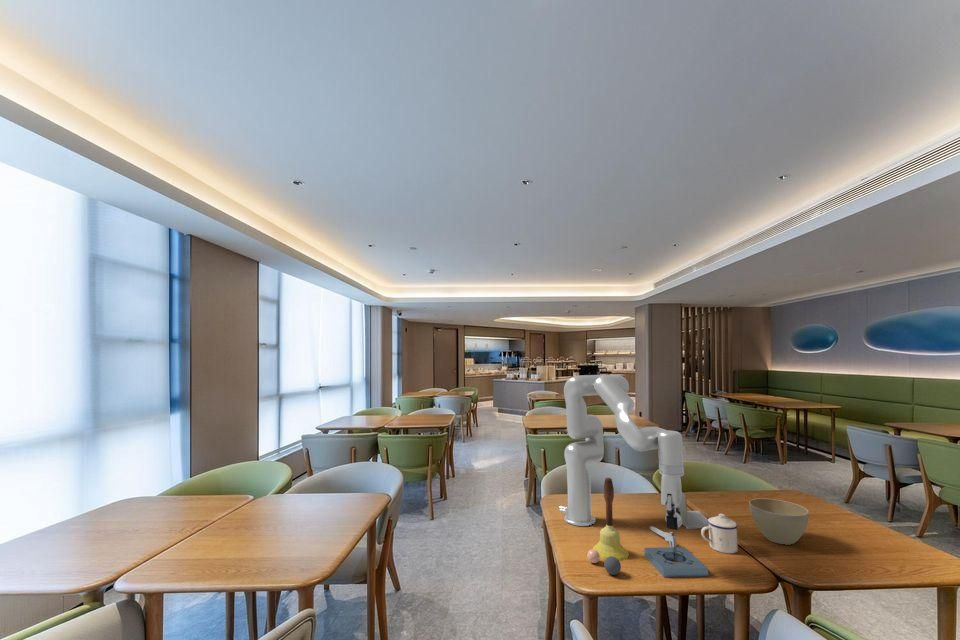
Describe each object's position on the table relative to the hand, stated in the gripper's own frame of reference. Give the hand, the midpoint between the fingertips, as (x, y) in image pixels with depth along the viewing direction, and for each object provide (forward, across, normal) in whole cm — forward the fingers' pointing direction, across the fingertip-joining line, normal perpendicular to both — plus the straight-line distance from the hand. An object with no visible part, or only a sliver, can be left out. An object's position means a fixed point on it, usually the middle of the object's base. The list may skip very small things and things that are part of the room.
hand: (673, 525), depth 137 cm
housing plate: (+13, 0, 0) cm, 13 cm away
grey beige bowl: (+13, -42, +29) cm, 53 cm away
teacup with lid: (+13, -22, +11) cm, 28 cm away
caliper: (+13, -18, -8) cm, 24 cm away
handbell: (+13, +2, -20) cm, 24 cm away
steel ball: (-2, 0, 0) cm, 2 cm away
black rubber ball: (+10, +16, -16) cm, 25 cm away
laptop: (+13, -45, 0) cm, 47 cm away
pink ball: (+11, +13, -23) cm, 28 cm away
